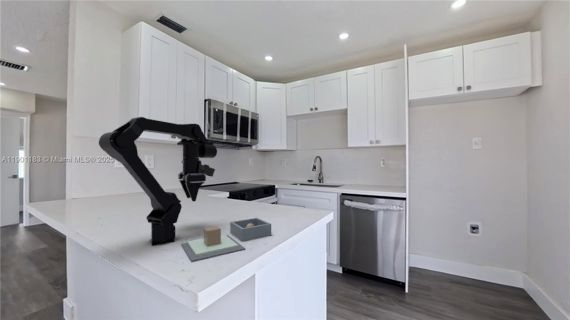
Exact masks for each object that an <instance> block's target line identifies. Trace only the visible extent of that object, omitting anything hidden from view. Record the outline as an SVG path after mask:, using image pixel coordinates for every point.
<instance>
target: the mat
mask: <svg viewBox="0 0 570 320" xmlns="http://www.w3.org/2000/svg"><path fill="white" fill-rule="evenodd" d="M225 235H226V236H227V237H229V238H230V239H231V240H233V241H234V242H235V243H236V244H238V248H235V249H230V250H226V251H222V252H217V253H213V254H208V255H204V256H199V257H196V256H195V255H194V253H193V252H192V250H191V249H190V247H189V246H188V244H187V242H182V243H180V244H181V245H180V246H181V247H182V248H183V250H184V252H185V254H186V256H187V257H188V259H189V260H190V262H191V263H194V262H197V261H198V262H199V261H202V260H207V259H211V258H214V257H218V256H224V255H228V254H231V253H232V254H233V253H236V252H240V251H244V250H246V247H244V246H243V245H242V244H240V243H239V242H238V241H236V240H235V239H234V238H232V237H231V236H230V235H229V234H225Z"/></svg>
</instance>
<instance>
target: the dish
mask: <svg viewBox="0 0 570 320" xmlns="http://www.w3.org/2000/svg"><path fill="white" fill-rule="evenodd" d="M249 223H252V224H253V225H254V226H253V227H247V228H246V226H247V225H248V224H249ZM229 224H230V225H229V227H230V228H229V229H230V230H229V231H230V232H229V233H230V234H231V235H232V236H234V237H235V238H237V239H238V240H239V241H241V242H246V241H251V240H256V239H260V238H265V237H270V236H272V223H270V222H267V221H265V220H263V219H261V218H259V217H252V218H247V219H241V220H234V221H230V223H229Z"/></svg>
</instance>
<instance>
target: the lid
mask: <svg viewBox="0 0 570 320" xmlns="http://www.w3.org/2000/svg"><path fill="white" fill-rule="evenodd" d="M221 233H222V229H221V228H220V227H219V226H218V225H214V226H208V227H203V238H200V239H199V238H198V239H194V240H193V239H192V240H189V241H186V243H187V244H188V246H189V247H190V249H191V250H192V252H193V253H194V255H195V256H196V257H199V256H204V255H208V254H213V253H217V252H222V251H226V250H230V249H235V248H238V244H236V243H235V242H234V241H233V240H231V239H230V238H229V237H227V236H226V235H227V234H221Z"/></svg>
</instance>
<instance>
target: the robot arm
mask: <svg viewBox="0 0 570 320" xmlns="http://www.w3.org/2000/svg"><path fill="white" fill-rule="evenodd" d="M143 132H145V133H146V132H147V133H154V134H161V135H162V134H163V135H171V136H174V137H176V138H178V139H181V140H179V141H178V142H177V143H176V144H177V146H182V160H181V164H182V171H180V172H179V173H178V174H177V177H178V178H177V179H178V181H179V183H180V186H181V187H182V190H183V192H184V193H185V194H184V195H185V197H186V198H187V199H191V201H192V202H196V201H197V197H198V194H199V189H200V187H201V186H202V185H203V184H205V182H206V181H207V176H208V177H212V178H213V177H214V173H215V172H216V168H213V167H211V166H210V165H209V164H207V163H206V164H202V161H201V160H200V159H213V158H215V157H216V156H217V155H218V149H217V147H216V145H215V144H214V141H211V140H210V141H209V140H208V139H207V137H206V135H205V133H204V131H203V130H202V127H201V126H200V125H199V124H198V123H173V122H168V121H163V120H158V119H151V118H146V117H144V116H138V117H137V116H136V117H132V118H131V119H129V120H128V121H127V122H126V123H124V124H123V125H121V126H119V127H117V128H116V129H114V130H112V131H110V132H109V131H108V132H105V133H103V134H102V135H101V136H100V137H99V140H98V146H99V147H100V149H101V150H102V151H104V152H105V153H106V154H107V155H109V156H110V157H111V158H112V159H113V160H115V161H117V162H119V163H121V165H122V166H123V167H124V168H125V169H126V170H127V172H128V174H129V175H130V176H132V178H133V179H134V180H135V182H136V183H137V184H138V185H139V187H140V188H141V189H142V190H143V191H144V193H145V194H146V195H147V196H148V198H149V199H150V200H149V201H150V206H151V207H152V208H151V209H152V210H151V211H150V212H149V214H148V215H147V216H146V220H147V223H149V224H151V226H150V229H151V232H150V234H151V235H150V244H151V246H152V247H154V246H161V245H164V244H165V245H166V244H170V243H174V242H176V241H175V240H176V226H175V224H176V223H177V222H178V219H179V216H180V214H181V210H182V204H181V202H182V201H181V199H179V197H178V195H177V194H176V193H175V192H171V191H170V192H169V191H165V190H164V188H163V186H161V184H160V183H159V182H158V181H157V179H156V178H155V176H154V175H153V174H152V172H151V171H150V170H149V168H148V167H147V165H146V164H145V163H144V162H143V160H142V159H141V158H140V156H139V153H138V147H137V144H136V143H135V142H136V141H137V140H138V138H140V137H141V135H142V134H143Z"/></svg>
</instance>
